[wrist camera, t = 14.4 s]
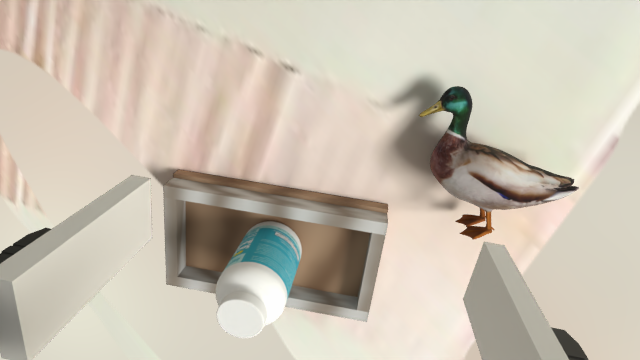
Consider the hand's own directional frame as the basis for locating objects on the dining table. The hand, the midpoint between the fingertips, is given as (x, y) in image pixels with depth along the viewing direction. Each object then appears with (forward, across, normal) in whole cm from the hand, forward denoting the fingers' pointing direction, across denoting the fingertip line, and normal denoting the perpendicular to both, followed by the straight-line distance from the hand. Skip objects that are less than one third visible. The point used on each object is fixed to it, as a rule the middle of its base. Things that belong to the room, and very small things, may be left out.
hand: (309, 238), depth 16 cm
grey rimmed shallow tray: (+30, -6, -20) cm, 37 cm away
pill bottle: (+29, -6, -20) cm, 36 cm away
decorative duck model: (+30, +16, -3) cm, 35 cm away
